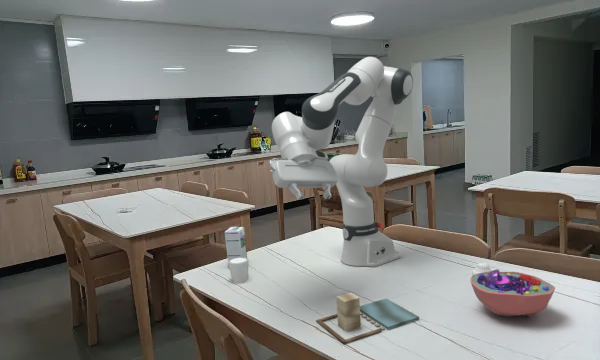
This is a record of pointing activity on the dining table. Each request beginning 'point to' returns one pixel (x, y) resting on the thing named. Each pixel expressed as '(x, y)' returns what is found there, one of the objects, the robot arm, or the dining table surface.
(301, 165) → the robot arm
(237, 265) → the white cylinder
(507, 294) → the cell model
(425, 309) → the dining table surface
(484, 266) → the muffin
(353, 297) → the birch stub block
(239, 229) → the syrup box
